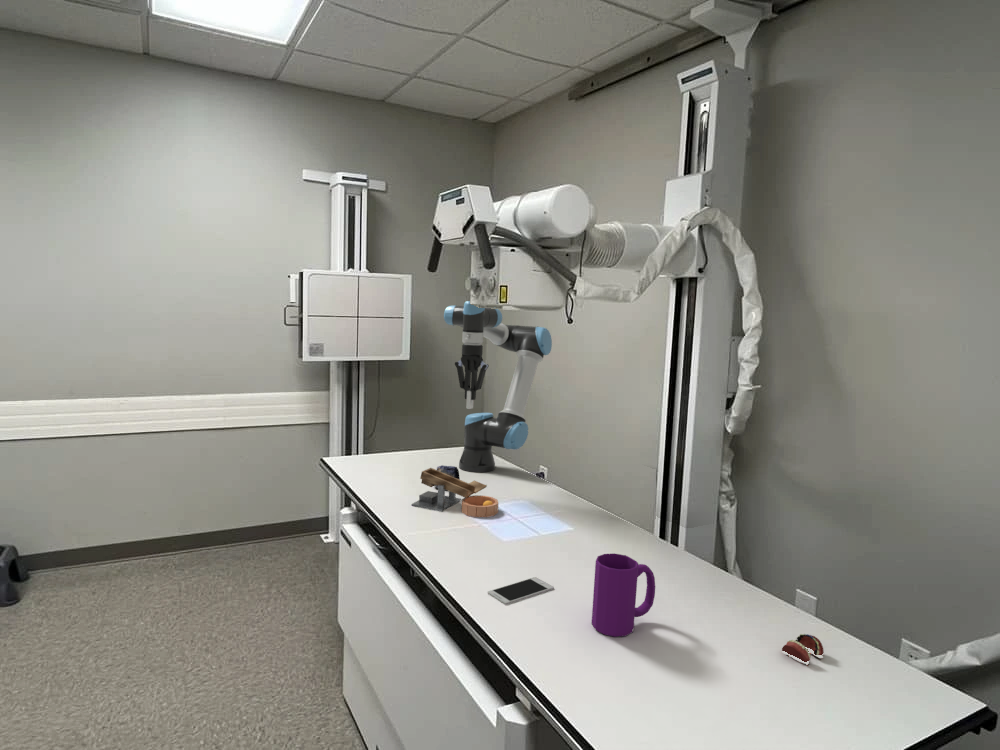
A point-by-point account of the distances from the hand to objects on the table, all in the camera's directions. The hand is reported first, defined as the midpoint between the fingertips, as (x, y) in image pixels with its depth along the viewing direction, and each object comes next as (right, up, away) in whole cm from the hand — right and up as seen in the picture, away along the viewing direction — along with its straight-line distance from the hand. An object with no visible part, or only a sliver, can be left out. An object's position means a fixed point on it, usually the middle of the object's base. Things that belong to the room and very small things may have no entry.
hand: (469, 408), depth 231 cm
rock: (-9, -30, +6) cm, 32 cm away
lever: (-5, -27, -12) cm, 30 cm away
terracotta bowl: (+4, -33, -21) cm, 39 cm away
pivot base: (-11, -32, -14) cm, 36 cm away
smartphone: (+16, -41, -78) cm, 89 cm away
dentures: (+73, -46, -101) cm, 133 cm away
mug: (+38, -43, -92) cm, 108 cm away
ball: (+7, -31, -22) cm, 39 cm away
